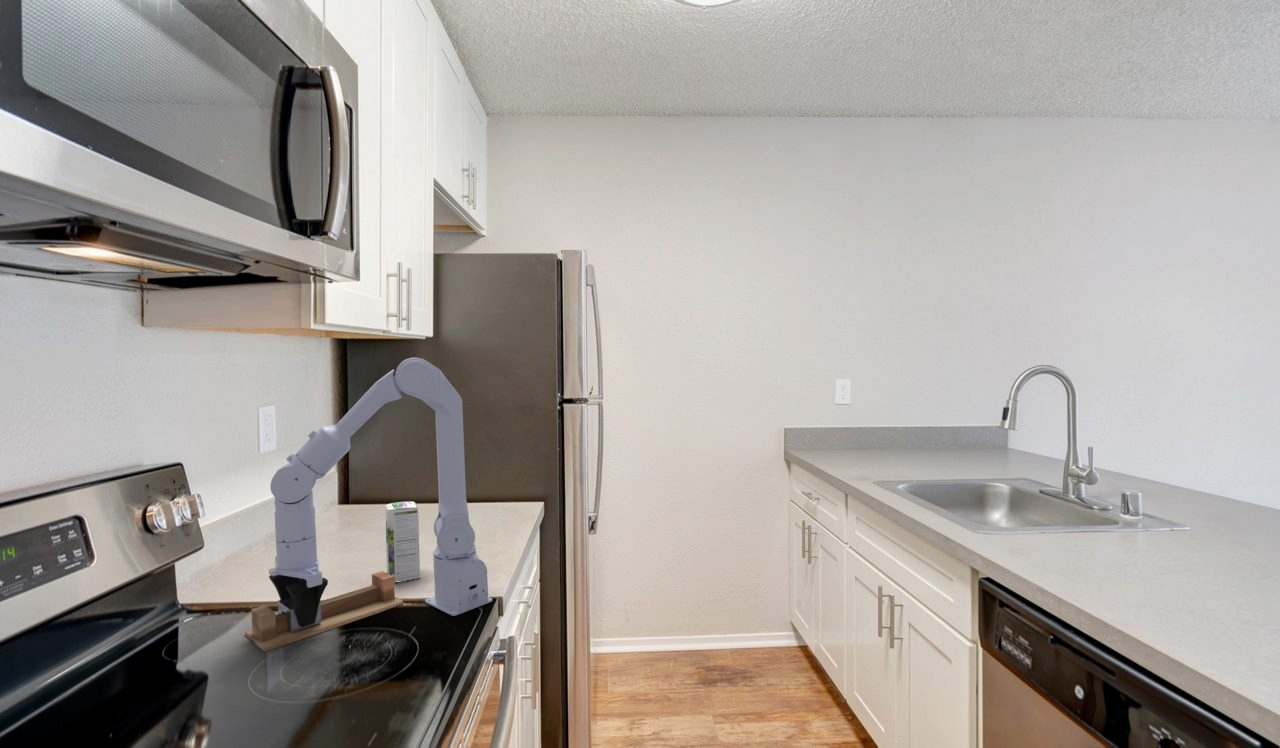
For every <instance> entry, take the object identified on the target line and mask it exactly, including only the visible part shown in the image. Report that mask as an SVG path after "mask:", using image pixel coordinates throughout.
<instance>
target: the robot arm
mask: <svg viewBox="0 0 1280 748" xmlns="http://www.w3.org/2000/svg"><path fill="white" fill-rule="evenodd" d="M394 373H395V374H394ZM401 392H403V393H404V394H406V395H408V396H411V397H413V398H416V399H419V400H421V401H423V403H425V404H426V405H427V406H429V408H431V409H432V410H434V411H435V414H434V415H435V433H436V436H435V437H436V459H437V460H436V462H437V481H438V482H437V484H438V485H437V486H438V514H437V517H436V519H435V520H434V524H433V532H434V535H435V536H436V544H437V546H436V547H435V549H434V550H433V552H432V553H433V573H434V574H433V575H434V576H433V578H434V582H433V583H434V596H432V597H428V598H425V600H424V602H425V603H426V604H427V605H430V606H431V607H434V608H436V609H438V610H440V611H442V612H444V613H445V614H448V615H450V616H452V617H455V616H458V615H461V614H464V613H467V612H468V611H469V612H470V611H471V610H474V609H477V608H479V607H481V606H485V605H486V604H489V603H491V602H493V598H492V597H490V596H489V591H488V590H489V589H488V588H489V585H488V582H489V581H488V568H487V565H486V563H485V562H484V561H483V560H482V559H480V558H479V556H478V554H477V550H476V548H477V547H476V545H475V541H476V534H475V533H476V532H475V529H474V528H473V527H472V525H471V524H470V519H469V517H470V516H469V508H468V503H467V490H466V485H467V484H466V467H465V463H466V461H465V459H466V458H465V440H464V438H465V437H464V436H465V435H464V414H463V413H464V411H463V410H464V409H463V400H462V397H461V395H460V393H458V391H457V390H456V389H455V387H454V386H453V385H452V384H451V382H450V381H449V380H448V378H447V377H446V376H445V375H444V372H442V370H441V369H440V368H438V367H436V366H435V365H433V364H432V363H430V362H429V361H427V359H424V358H419V357H410V358H406V359H404V360H402V361H401V362H400V363H399V364H398V365H397V367H396V369H392V370H390V371H388V373H386V374H385V375H383V376H382V377H381V378H380V379H378V380H377V381H376V382H374V383H373V385H372V386H371V387H370V388H369V389H367V391H366V392H365V393H363V395H362V396H361V398H359V400H358V401H357V402H356V403H355V404H354V405H353V406H352V407H351V408H350V409H349V410H348V411H347V413H345V415H344V416H343V417H342V418H341V419H340V420H339V421H338V422H337V423H336V424H333V425H323V426H321V427H320V428H319V429H318V430H317V429H313V430H312V431H311V432H309V434H308V435H307V436H308V438H309V439H308V440H307V441H306V442H305V443H304V444H303V445H302V446H301V447H300V448H299V450H297V452H295V453H294V454H293V453H291V454H289V455H288V457H286V459H285V460H286V461H287V462H288V463H286V464H284V465H283V466H282V467H280V468H279V469H278V470H276V473H275V474H274V475H273V476H272V478H271V481H270V486H269V487H270V492H271V494H272V496H273V497H274V506H275V507H274V509H275V511H274V531H275V532H274V535H275V551H276V556H275V557H274V561H275V562H274V563H275V567H272V568H270V569H268V574H269V576H268V579H269V580H270V581H271V582H272V584H273V586H274V588H275V590H276V592H277V594H278V596H279V600H282V599H286V598H289V597H292V599H293V602H294V605H295V609H296V614H297V619H298V623H299V625H300V627H305V626H308V625H311V624H314V623H315V620H316V616H317V611H318V607H319V602H320V601H321V599H322V596H323V593H324V591H325V590H326V587H327V586H328V583H329V580H328V579H327V578H325V577H323V573H322V571H321V570H320V562H319V559H318V551H317V548H318V547H317V533H316V532H317V529H316V509H315V506H314V496H313V495H314V493H313V492H314V491H312V490H313V489H314V486H315V484H316V482H317V480H320V479H323V478H324V477H325V476H326V475H327V474H328V472H330V471H331V470H332V468H333V467H334V466H335V465H336V464H337V463H338V462H339V461H340V460H341V459H342V458H343V457H344V456H345V455H346V454H347V453H348V452H349V451H350V450H351V448H352V445H351V437H352V436H353V435H354V434H356V432H357V431H358V430H359V429H360V428H361V427H362V426H363V425H364V424H366V422H368V420H370V418H371V417H373V416H374V415H375V414H376V412H378V411H379V410H380V408H382V407H383V406H384V405H385V404H388V403H391V402H394V401H397V400H400V399H402V398H403V397H402V396H403V395H402V393H401Z"/></svg>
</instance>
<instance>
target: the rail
mask: <svg viewBox="0 0 1280 748" xmlns="http://www.w3.org/2000/svg"><path fill="white" fill-rule="evenodd" d="M395 594H396V593H395V583H394V576H392V575H390V574H388V573H387V571H384V570H381V571H377V572H374V573H371V585H370V586H369V585H368V586H366V587H362V588H360V589H356V590H352V591H350V592H346V593H343V594H339V595H337V596H333V597H330V598H326V599H324V600H320V601H321V623H318V624H315V625H312V626H309V627H306V628H303V629H300V630H297V631H294V632H290V631H289V630H288V623H287V614H286V613H281V614H276V612H275V611H274V610H273V609H271V608H270V607H269V606H267V605H266V604H265V605H261V606H258V607H254V608H251V610H250V611H251V612H250V613H251V628H249V629H247V630H245V631H244V635H245V636H246V637H247V638H248V639H249V640H251V642H253V643H254V644H255V645H256V646H257V647H258V648H259V649H260V650H262V651H263V652H264V653H265V652H269V651H271V650H275V649H276V648H280V647H283V646H286V645H289V644H291V643H294V642H298V641H301V640H303V639H306V638H308V637H309V638H310V637H312V636H315V635H318V634H321V633H323V632H327V631H330V630H332V629H335V628H339V627H342V626H344V625H347V624H350V623H352V622H355V621H358V620H361V619H364V618H367V617H371V616H374V615H377V614H380V613H382V612H384V611H385V612H386V611H388V610H391V609H394V608H396V606H397V607H400V606H403V605H404V600H403V599H401V598H399V597H396V595H395ZM402 604H403V605H402ZM399 605H400V606H399ZM393 607H394V608H393ZM390 608H391V609H390ZM387 609H388V610H387Z"/></svg>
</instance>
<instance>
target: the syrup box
mask: <svg viewBox="0 0 1280 748" xmlns="http://www.w3.org/2000/svg"><path fill="white" fill-rule="evenodd" d="M419 521H420V520H419V507H418V505H417V503H416V502H415V501H399V502H391V503H388V504H385V552H386V556H385V557H386V558H385V559H386V573H388V574H390V575H392V576H394V582H396V581H404V580H409V581H413V580H412V579H414V580H418V578H419V579H420V578H421V569H420V567H421V566H420V565H421V563H420V562H421V561H420V560H421V559H420V523H419ZM404 582H405V581H404Z"/></svg>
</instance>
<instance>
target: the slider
mask: <svg viewBox="0 0 1280 748" xmlns="http://www.w3.org/2000/svg"><path fill="white" fill-rule="evenodd" d="M321 601H322V600H320V602H319V607H318V611H317V616H316V620H315V623H314V624H311V625H308V626H305V627H300V625H299V623H298V619H297V614H296V609H295V605H294V602H293V599H292V597H289V598H286V599H282V600H280V599H279V600H277V611H278V614H281V613H286V614H287V623H288V630H289V631H290V632H294V631H297V630H300V629H303V628H306V627H309V626H312V625H315V624H318V623H321Z"/></svg>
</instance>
